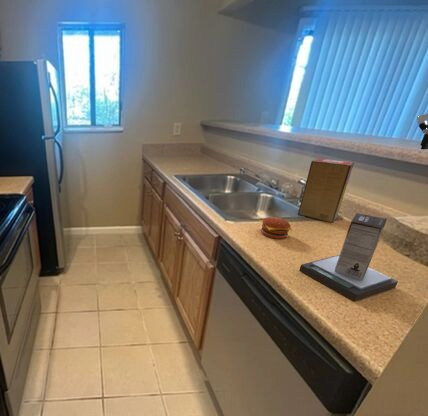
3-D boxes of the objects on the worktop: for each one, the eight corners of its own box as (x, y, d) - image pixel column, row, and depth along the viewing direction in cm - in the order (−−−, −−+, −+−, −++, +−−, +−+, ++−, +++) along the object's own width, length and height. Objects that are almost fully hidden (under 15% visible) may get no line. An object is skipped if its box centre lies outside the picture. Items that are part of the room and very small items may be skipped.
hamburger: (293, 239, 103) (297, 223, 101) (266, 239, 104) (270, 223, 102) (280, 228, 112) (283, 214, 110) (255, 228, 113) (258, 213, 110)
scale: (395, 287, 76) (399, 279, 75) (354, 301, 71) (357, 292, 70) (337, 260, 89) (339, 253, 88) (299, 270, 84) (301, 262, 83)
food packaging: (337, 217, 122) (355, 161, 113) (333, 223, 116) (351, 165, 108) (302, 209, 132) (316, 157, 123) (296, 214, 126) (310, 160, 117)
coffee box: (339, 260, 85) (356, 212, 79) (367, 268, 80) (387, 218, 74) (333, 271, 79) (350, 220, 73) (362, 281, 74) (383, 228, 69)
